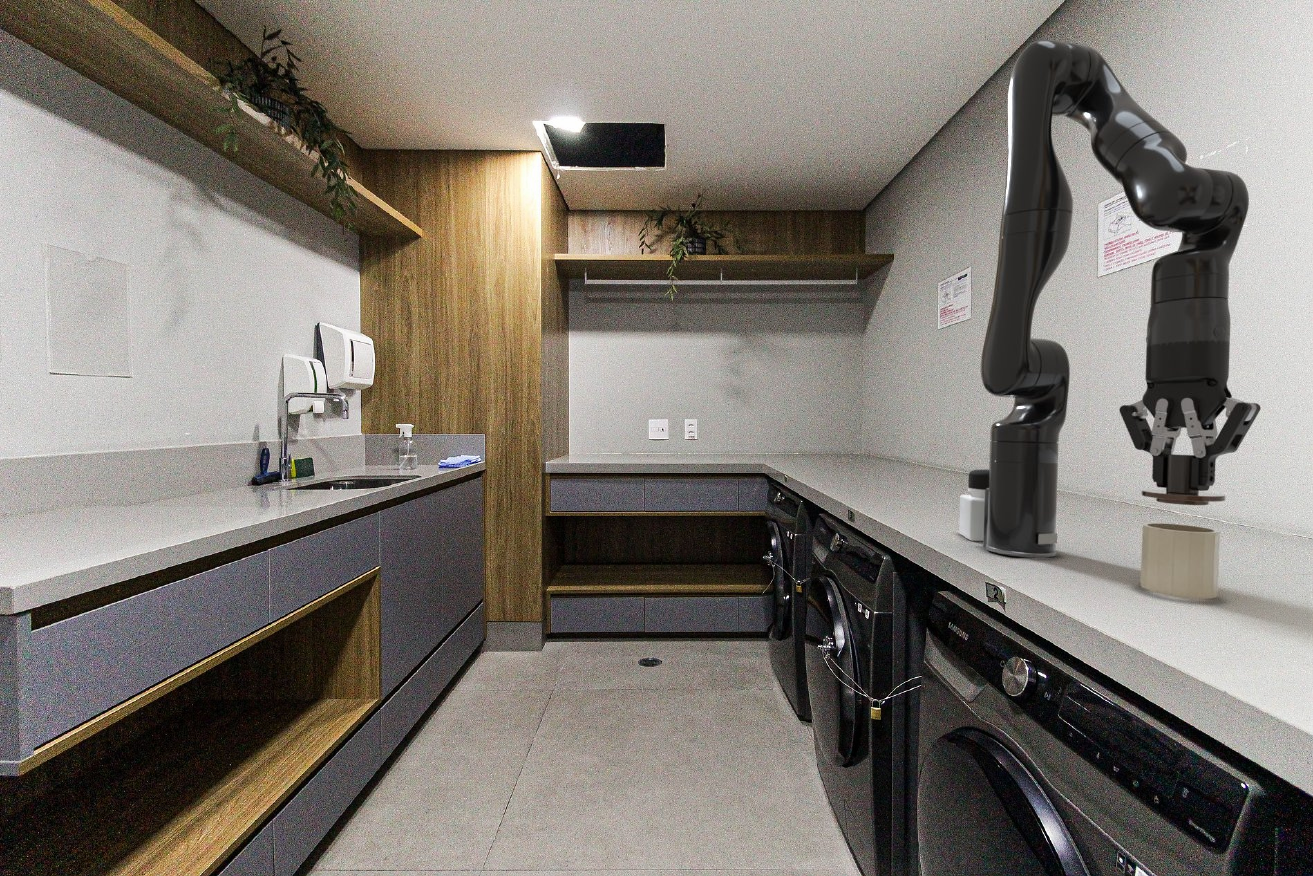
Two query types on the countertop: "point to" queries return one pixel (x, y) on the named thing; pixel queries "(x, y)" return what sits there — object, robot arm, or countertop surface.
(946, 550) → the countertop surface
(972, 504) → the medicine bottle
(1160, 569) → the canister
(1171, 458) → the lid
